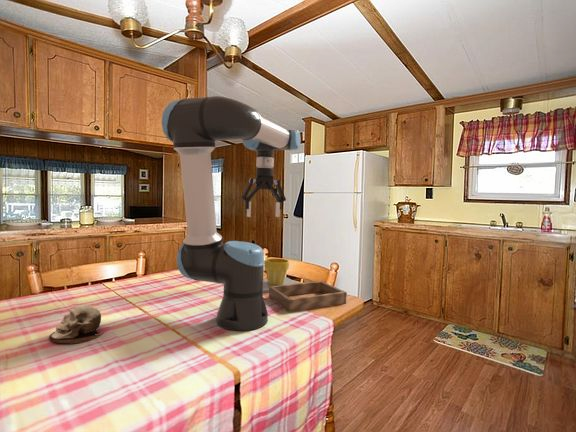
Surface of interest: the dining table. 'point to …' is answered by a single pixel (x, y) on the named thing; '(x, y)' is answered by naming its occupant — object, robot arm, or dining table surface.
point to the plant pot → (276, 270)
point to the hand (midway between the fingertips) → (263, 216)
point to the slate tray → (267, 285)
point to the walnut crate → (296, 304)
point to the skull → (78, 325)
